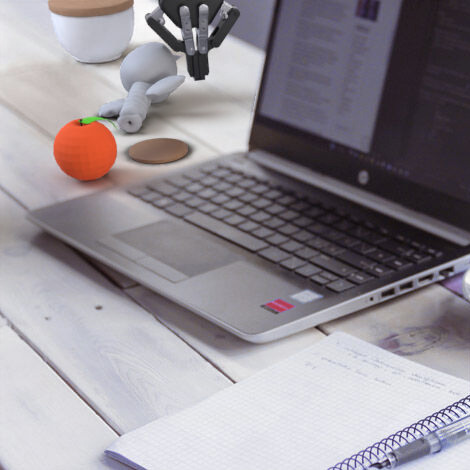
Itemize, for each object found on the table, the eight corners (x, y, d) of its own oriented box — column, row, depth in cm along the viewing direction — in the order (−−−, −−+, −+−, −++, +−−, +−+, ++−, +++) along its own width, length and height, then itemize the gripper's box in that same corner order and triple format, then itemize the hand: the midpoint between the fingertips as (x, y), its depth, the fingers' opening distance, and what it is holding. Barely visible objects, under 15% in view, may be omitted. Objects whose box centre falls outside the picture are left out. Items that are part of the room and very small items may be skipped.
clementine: (102, 157, 113) (95, 101, 110) (140, 173, 109) (133, 114, 106) (45, 179, 108) (35, 120, 104) (83, 196, 104) (74, 135, 100)
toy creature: (70, 110, 118) (107, 40, 134) (99, 158, 122) (131, 84, 138) (160, 80, 115) (187, 12, 131) (187, 130, 119) (210, 58, 135)
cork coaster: (120, 161, 112) (120, 158, 112) (141, 139, 118) (140, 136, 118) (177, 165, 111) (177, 162, 111) (195, 142, 117) (195, 139, 117)
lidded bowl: (146, 63, 145) (139, -10, 140) (62, 73, 141) (50, -2, 136) (131, 41, 156) (123, -28, 150) (51, 49, 151) (40, -21, 146)
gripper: (231, -60, 127) (240, 65, 135) (131, -52, 123) (147, 75, 132) (242, -49, 121) (251, 82, 129) (137, -40, 117) (153, 93, 126)
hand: (198, 78), depth 130 cm, fingers closed
